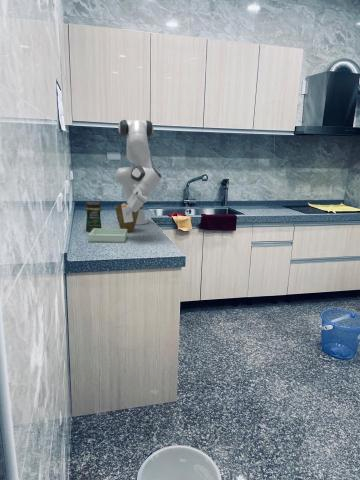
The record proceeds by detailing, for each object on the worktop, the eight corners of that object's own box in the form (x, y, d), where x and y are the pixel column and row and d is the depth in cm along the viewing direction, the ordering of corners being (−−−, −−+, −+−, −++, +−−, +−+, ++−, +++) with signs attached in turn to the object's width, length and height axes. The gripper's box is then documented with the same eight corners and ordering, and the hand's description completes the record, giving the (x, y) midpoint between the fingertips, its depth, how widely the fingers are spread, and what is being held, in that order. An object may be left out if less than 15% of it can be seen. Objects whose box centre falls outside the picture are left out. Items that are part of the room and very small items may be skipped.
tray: (93, 234, 214) (93, 228, 213) (127, 235, 216) (127, 229, 215) (88, 242, 197) (88, 235, 196) (124, 242, 198) (124, 235, 197)
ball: (124, 207, 205) (119, 205, 203) (127, 203, 204) (122, 201, 202) (125, 210, 203) (120, 208, 201) (128, 206, 202) (123, 204, 200)
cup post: (132, 219, 209) (130, 204, 206) (133, 221, 205) (130, 206, 201) (123, 220, 208) (121, 205, 205) (124, 222, 204) (122, 207, 201)
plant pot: (140, 233, 223) (140, 207, 219) (115, 233, 220) (115, 207, 216) (137, 228, 237) (138, 204, 233) (115, 228, 234) (115, 204, 230)
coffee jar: (85, 232, 221) (85, 202, 217) (86, 229, 229) (85, 200, 224) (101, 231, 223) (101, 202, 219) (101, 229, 231) (101, 200, 226)
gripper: (134, 187, 211) (120, 205, 213) (138, 194, 193) (123, 214, 194) (142, 193, 214) (128, 211, 215) (147, 201, 195) (132, 221, 197)
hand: (126, 213), depth 205 cm, fingers closed on cup post, 5 cm apart
